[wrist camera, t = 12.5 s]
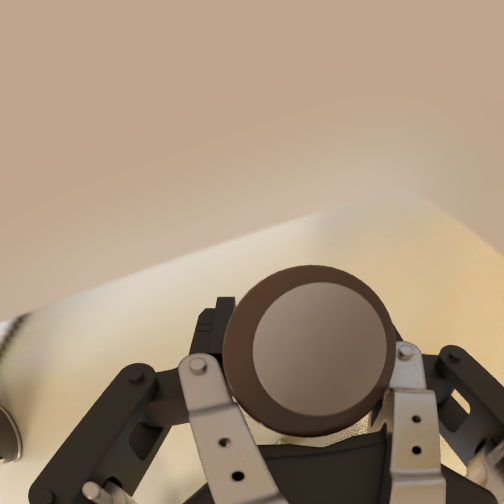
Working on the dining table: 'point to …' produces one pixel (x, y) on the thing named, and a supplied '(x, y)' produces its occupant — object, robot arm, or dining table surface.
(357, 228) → the dining table surface
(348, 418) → the brown bottle
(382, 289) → the dining table surface
